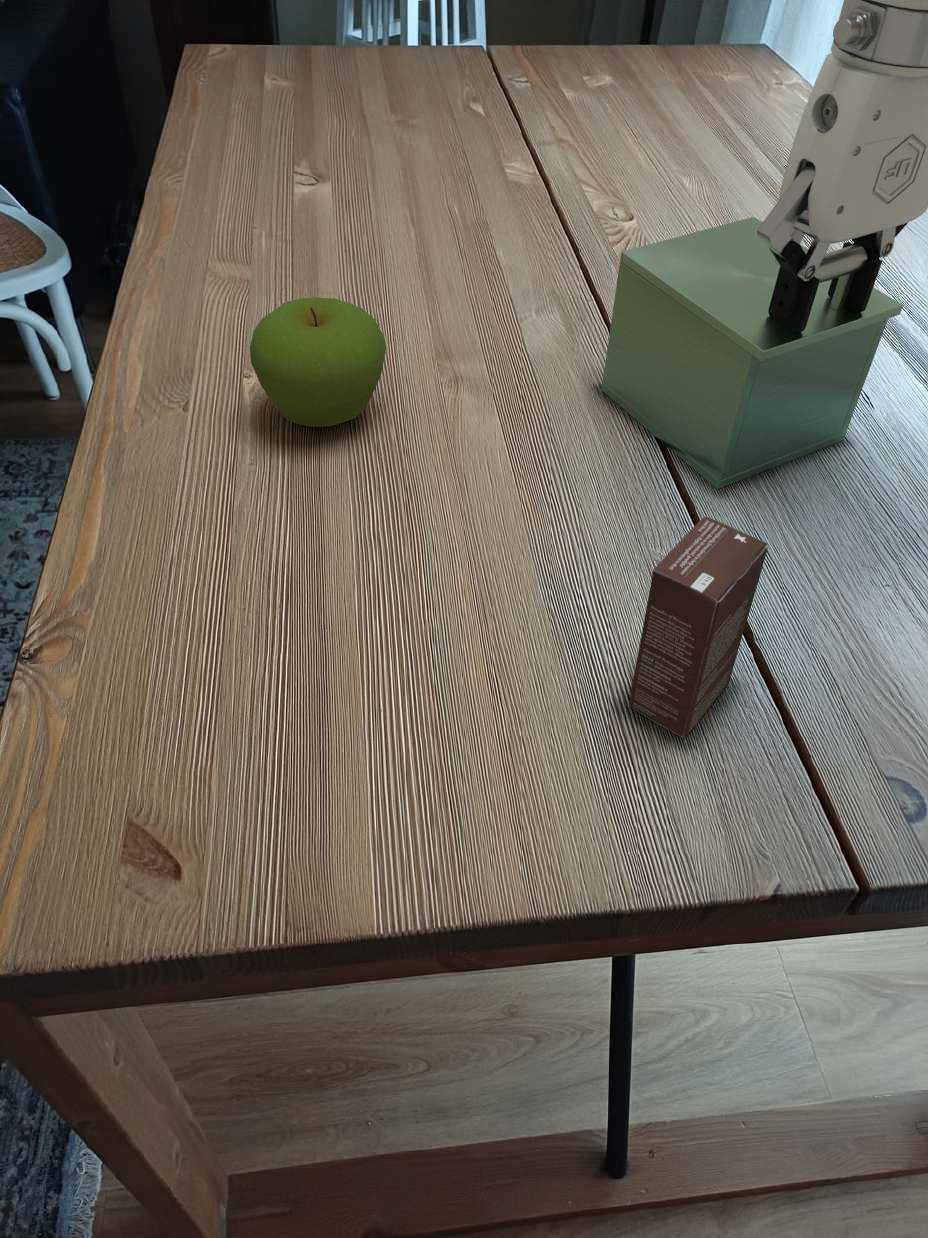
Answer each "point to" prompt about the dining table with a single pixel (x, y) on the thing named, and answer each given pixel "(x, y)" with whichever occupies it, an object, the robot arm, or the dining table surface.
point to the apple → (318, 360)
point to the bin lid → (753, 286)
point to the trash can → (728, 386)
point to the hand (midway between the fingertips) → (816, 311)
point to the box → (695, 623)
